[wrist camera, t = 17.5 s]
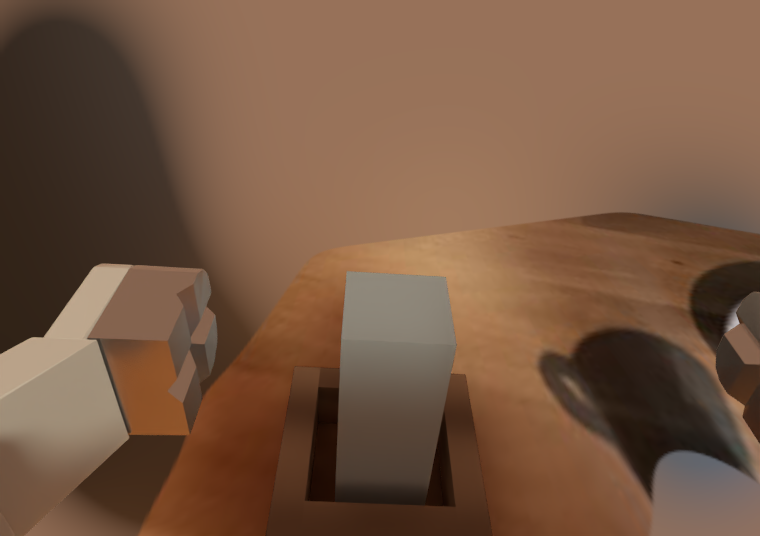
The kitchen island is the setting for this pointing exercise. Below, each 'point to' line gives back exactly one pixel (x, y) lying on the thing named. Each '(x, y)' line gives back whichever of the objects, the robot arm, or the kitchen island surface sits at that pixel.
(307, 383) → the rail
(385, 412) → the peg
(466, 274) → the kitchen island surface
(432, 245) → the kitchen island surface
